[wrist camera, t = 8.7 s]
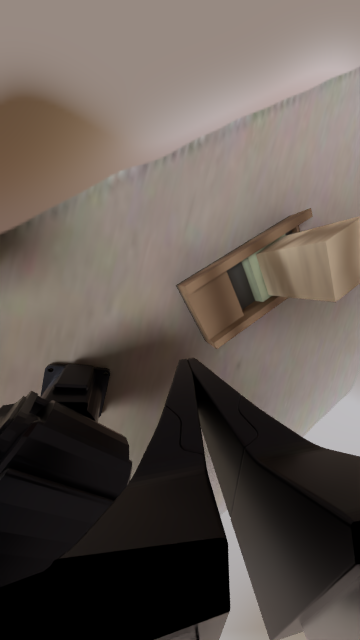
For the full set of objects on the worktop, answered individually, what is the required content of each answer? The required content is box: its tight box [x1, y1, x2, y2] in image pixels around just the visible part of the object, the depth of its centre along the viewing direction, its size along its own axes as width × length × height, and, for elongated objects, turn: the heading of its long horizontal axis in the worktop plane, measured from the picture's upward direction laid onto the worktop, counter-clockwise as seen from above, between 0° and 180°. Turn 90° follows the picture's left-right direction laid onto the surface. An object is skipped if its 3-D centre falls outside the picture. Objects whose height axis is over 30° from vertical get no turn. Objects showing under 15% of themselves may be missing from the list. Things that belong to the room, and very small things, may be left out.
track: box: [176, 208, 312, 349], centre depth 23 cm, size 20×9×3 cm, turn 119°
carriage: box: [256, 216, 360, 302], centre depth 20 cm, size 5×6×8 cm
